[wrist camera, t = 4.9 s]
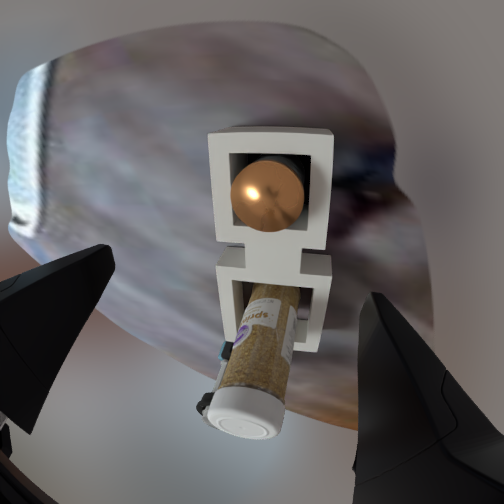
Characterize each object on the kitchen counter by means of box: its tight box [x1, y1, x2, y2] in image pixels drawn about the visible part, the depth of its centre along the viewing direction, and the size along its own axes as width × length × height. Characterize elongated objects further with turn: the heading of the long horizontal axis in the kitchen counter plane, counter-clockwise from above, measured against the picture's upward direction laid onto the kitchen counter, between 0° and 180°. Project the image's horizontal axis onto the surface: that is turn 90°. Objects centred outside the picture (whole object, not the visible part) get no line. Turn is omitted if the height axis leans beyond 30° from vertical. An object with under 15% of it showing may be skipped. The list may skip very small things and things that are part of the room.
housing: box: [208, 126, 334, 352], centre depth 20 cm, size 19×9×4 cm, turn 2°
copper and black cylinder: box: [230, 153, 305, 232], centre depth 17 cm, size 4×4×6 cm
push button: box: [196, 341, 234, 430], centre depth 26 cm, size 7×5×10 cm
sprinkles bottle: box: [207, 282, 301, 439], centre depth 19 cm, size 5×5×13 cm
